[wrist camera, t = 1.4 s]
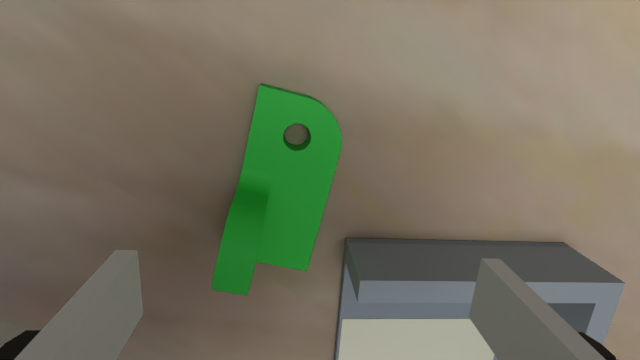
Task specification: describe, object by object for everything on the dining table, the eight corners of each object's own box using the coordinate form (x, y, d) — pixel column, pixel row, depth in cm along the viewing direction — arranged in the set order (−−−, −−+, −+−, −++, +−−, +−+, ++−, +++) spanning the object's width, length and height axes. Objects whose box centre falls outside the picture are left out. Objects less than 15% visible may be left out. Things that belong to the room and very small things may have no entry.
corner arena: (330, 391, 33) (339, 457, 28) (345, 237, 29) (360, 280, 23) (521, 386, 35) (565, 447, 29) (563, 242, 30) (624, 282, 25)
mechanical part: (305, 257, 29) (312, 327, 21) (227, 242, 28) (206, 310, 20) (347, 105, 26) (373, 124, 18) (261, 83, 25) (250, 93, 17)
